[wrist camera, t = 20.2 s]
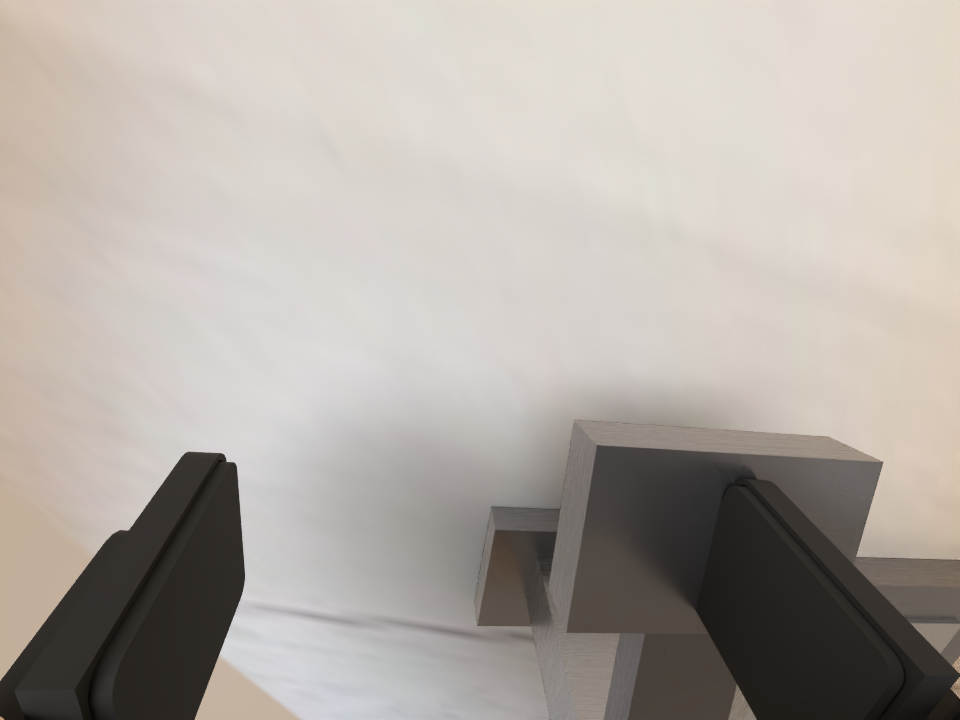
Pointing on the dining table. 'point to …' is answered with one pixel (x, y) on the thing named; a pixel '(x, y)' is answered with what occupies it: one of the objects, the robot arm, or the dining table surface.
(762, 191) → the dining table surface
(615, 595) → the press lever
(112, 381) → the dining table surface
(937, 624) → the press bed
